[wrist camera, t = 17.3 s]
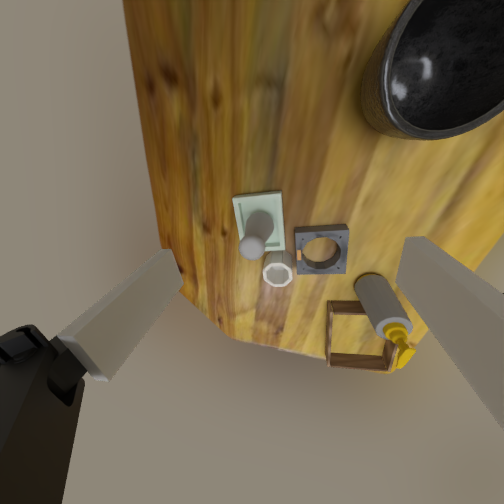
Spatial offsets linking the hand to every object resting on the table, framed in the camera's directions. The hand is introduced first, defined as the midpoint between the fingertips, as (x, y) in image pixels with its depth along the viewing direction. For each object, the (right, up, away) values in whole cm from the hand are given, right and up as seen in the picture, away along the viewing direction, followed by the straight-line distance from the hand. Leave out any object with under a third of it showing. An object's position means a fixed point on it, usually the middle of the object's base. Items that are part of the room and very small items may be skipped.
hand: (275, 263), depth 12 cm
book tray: (+27, -20, +41) cm, 53 cm away
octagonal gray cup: (+5, -1, +35) cm, 36 cm away
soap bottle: (+26, -6, +34) cm, 43 cm away
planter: (+20, +25, +18) cm, 37 cm away
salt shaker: (+1, +7, +31) cm, 32 cm away
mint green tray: (+1, +7, +31) cm, 32 cm away
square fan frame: (+13, +2, +32) cm, 35 cm away
